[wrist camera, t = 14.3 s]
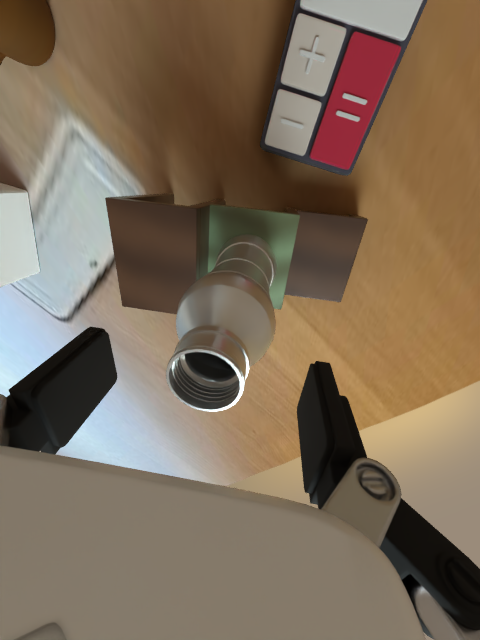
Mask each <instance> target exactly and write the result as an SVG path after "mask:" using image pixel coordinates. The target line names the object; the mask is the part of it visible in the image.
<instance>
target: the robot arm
mask: <svg viewBox="0 0 480 640" xmlns="http://www.w3.org/2000/svg"><path fill="white" fill-rule="evenodd" d="M116 380H117V372H116V367H115V363H114V358H113V353H112V348H111V344H110V339H109V335H108V333H107V332H106V331H105V330H104V329H102V328H96V327H89V328H87V329H86V330H85V331H83V332H82V333H81V334H80V335H78V336H77V337H76V338H74V339H73V340H72V341H71V342H69V343H68V344H67V345H65V346H64V347H63V348H62V349H60V350H59V351H58V352H56V353H55V354H54V355H53V356H51V357H50V358H49V359H48V360H46V361H45V362H44V363H42V364H41V365H40V366H39V367H37V368H36V369H35V370H33V371H32V372H31V373H30V374H28V375H27V376H26V377H24V378H23V379H22V380H21V381H19V382H18V383H17V384H16V385H14V386H13V387H12V388H10V389H9V392H10V395H9V396H8V397H5V396H4V395H1V394H0V640H426V638H425V635H424V633H425V634H426V635H427V636H429V637H431V638H432V639H434V640H480V569H479V568H478V567H477V566H476V565H475V564H474V563H473V562H472V561H471V560H470V559H469V558H468V557H467V556H466V555H465V554H464V553H462V552H461V551H460V550H459V549H458V548H457V547H456V546H455V545H453V544H452V543H451V542H450V541H449V540H448V539H447V538H446V537H444V536H443V535H442V534H441V533H440V532H439V531H438V530H437V529H435V528H434V527H433V526H432V525H431V524H430V523H428V522H427V521H426V520H425V519H424V518H423V517H422V516H421V515H420V514H418V513H417V512H416V511H415V510H414V509H413V508H411V506H409V505H408V504H407V503H406V502H405V501H404V500H403V499H402V498H401V489H400V486H399V484H398V482H397V479H396V478H395V477H394V475H393V474H392V473H391V471H389V470H388V469H387V468H386V467H385V466H384V465H382V464H381V463H379V462H378V461H375V460H373V459H370V458H367V455H366V452H365V450H364V446H363V444H362V440H361V438H360V435H359V431H358V428H357V425H356V422H355V419H354V416H353V413H352V410H351V407H350V404H349V401H348V399H347V398H346V397H345V396H340V395H339V391H338V388H337V385H336V382H335V378H334V375H333V372H332V368H331V365H330V363H326V362H319V361H316V362H315V364H310V367H309V370H308V374H307V377H306V380H305V383H304V387H303V390H302V393H301V396H300V400H299V403H298V407H297V418H298V428H299V439H300V450H301V460H302V471H303V481H304V489H305V492H306V493H309V496H310V503H313V504H317V505H318V509H317V508H314V507H312V506H309V505H306V504H302V503H298V502H295V501H291V500H287V499H283V498H279V497H274V496H269V495H264V494H260V493H255V492H250V491H245V490H241V489H236V488H230V487H225V486H220V485H215V484H210V483H205V482H199V481H194V480H189V479H184V478H179V477H173V476H168V475H163V474H157V473H152V472H147V471H142V470H136V469H131V468H125V467H120V466H115V465H109V464H104V463H99V462H93V461H88V460H82V459H77V458H71V457H65V456H60V455H55V454H56V453H57V451H58V450H59V449H60V448H61V447H64V446H65V445H66V444H67V443H68V442H69V440H70V439H71V438H72V437H73V435H74V434H75V433H76V432H77V430H78V429H79V428H80V427H81V425H82V424H83V423H84V422H85V420H86V419H87V418H88V417H89V415H90V414H91V413H92V412H93V410H94V409H95V408H96V406H97V405H98V404H99V403H100V401H101V400H102V399H103V398H104V396H105V395H106V394H107V393H108V391H109V390H110V389H111V388H112V386H113V385H114V384H115V382H116ZM39 451H41V452H39ZM423 632H424V633H423Z"/></svg>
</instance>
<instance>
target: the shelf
mask: <svg viewBox="0 0 480 640" xmlns="http://www.w3.org/2000/svg"><path fill="white" fill-rule="evenodd" d="M105 199H106V205H107V212H108V218H109V224H110V231H111V237H112V243H113V250H114V256H115V262H116V269H117V275H118V281H119V288H120V294H121V300H122V306H124V307H131V308H138V309H145V310H152V311H158V312H165V313H172V314H177V310H178V307H179V303H180V300H181V298H182V297H183V295H184V293H185V292H186V291H187V290H188V289H189V287H190V286H192V285H193V284H194V283H195V282H196V281H197V280H199V279H200V278H201V277H203V276H205V275H206V274H208V273H209V272H211V271H212V270H213V269H214V268H215V264H216V260H217V257H218V253H219V251H220V249H221V248H222V246H223V245H224V244H225V243H226V242H227V241H228V240H230V239H231V238H233V237H235V236H239V235H244V234H250V235H255V236H258V237H260V238H262V239H263V240H264V241H266V243H267V244H268V245H269V246H270V247H271V249H272V250H273V252H274V255H275V257H276V263H277V271H276V275H275V278H274V280H273V283H272V285H271V286H270V289H269V291H270V297H271V301H272V304H273V307H274V308H275V309H281V308H282V303H283V298H284V294H285V295H292V296H299V297H307V298H314V299H321V300H328V301H336V302H341V300H342V297H343V294H344V291H345V287H346V284H347V281H348V278H349V275H350V272H351V269H352V266H353V263H354V260H355V257H356V254H357V251H358V248H359V245H360V242H361V239H362V236H363V233H364V230H365V227H366V224H367V221H368V219H367V218H364V217H361V216H358V215H351V214H350V215H349V216H345V215H336V214H327V213H319V212H310V211H301V210H295V209H294V208H290V207H286V208H285V212H278V211H270V210H261V209H253V208H244V207H235V206H227V205H225V200H220V199H216V200H212V201H208V202H204V203H199V204H195V205H191V206H184V205H175V204H174V194H168V193H164V194H150V195H136V196H122V197H108V198H105Z"/></svg>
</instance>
